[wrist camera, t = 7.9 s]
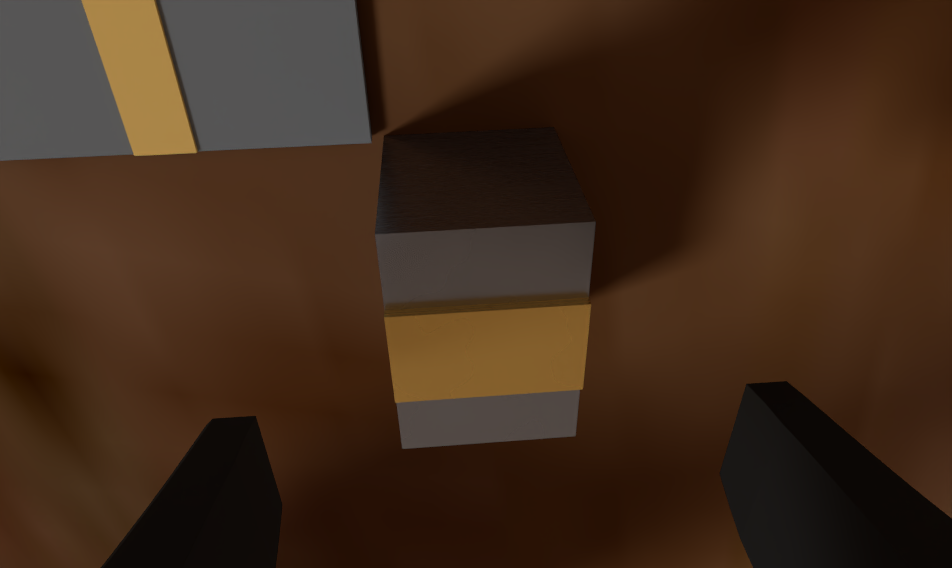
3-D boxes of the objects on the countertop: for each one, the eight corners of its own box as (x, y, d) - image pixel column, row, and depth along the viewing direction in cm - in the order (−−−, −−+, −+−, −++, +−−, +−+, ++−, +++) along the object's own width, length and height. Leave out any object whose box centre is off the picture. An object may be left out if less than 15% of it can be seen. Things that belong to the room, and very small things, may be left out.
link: (544, 315, 17) (577, 443, 13) (404, 324, 17) (402, 456, 13) (552, 125, 14) (599, 228, 10) (384, 134, 14) (374, 241, 10)
